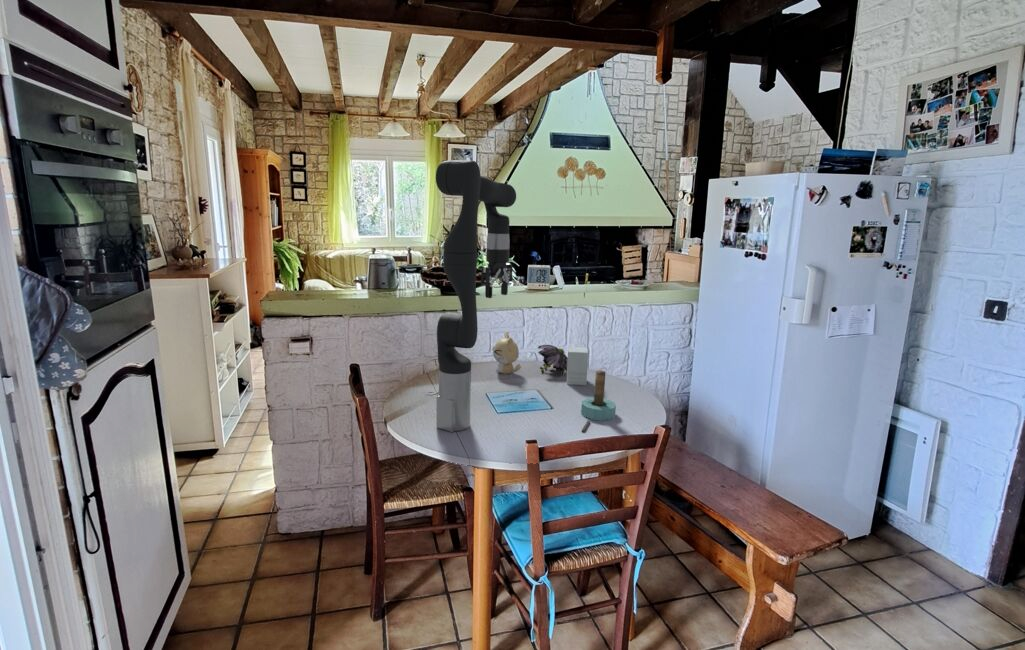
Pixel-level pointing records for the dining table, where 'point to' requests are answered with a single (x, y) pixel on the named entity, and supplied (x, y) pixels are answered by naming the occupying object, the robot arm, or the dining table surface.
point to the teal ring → (598, 409)
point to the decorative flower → (553, 358)
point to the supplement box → (577, 366)
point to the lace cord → (585, 426)
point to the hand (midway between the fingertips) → (496, 296)
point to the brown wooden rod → (599, 388)
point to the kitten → (506, 355)
